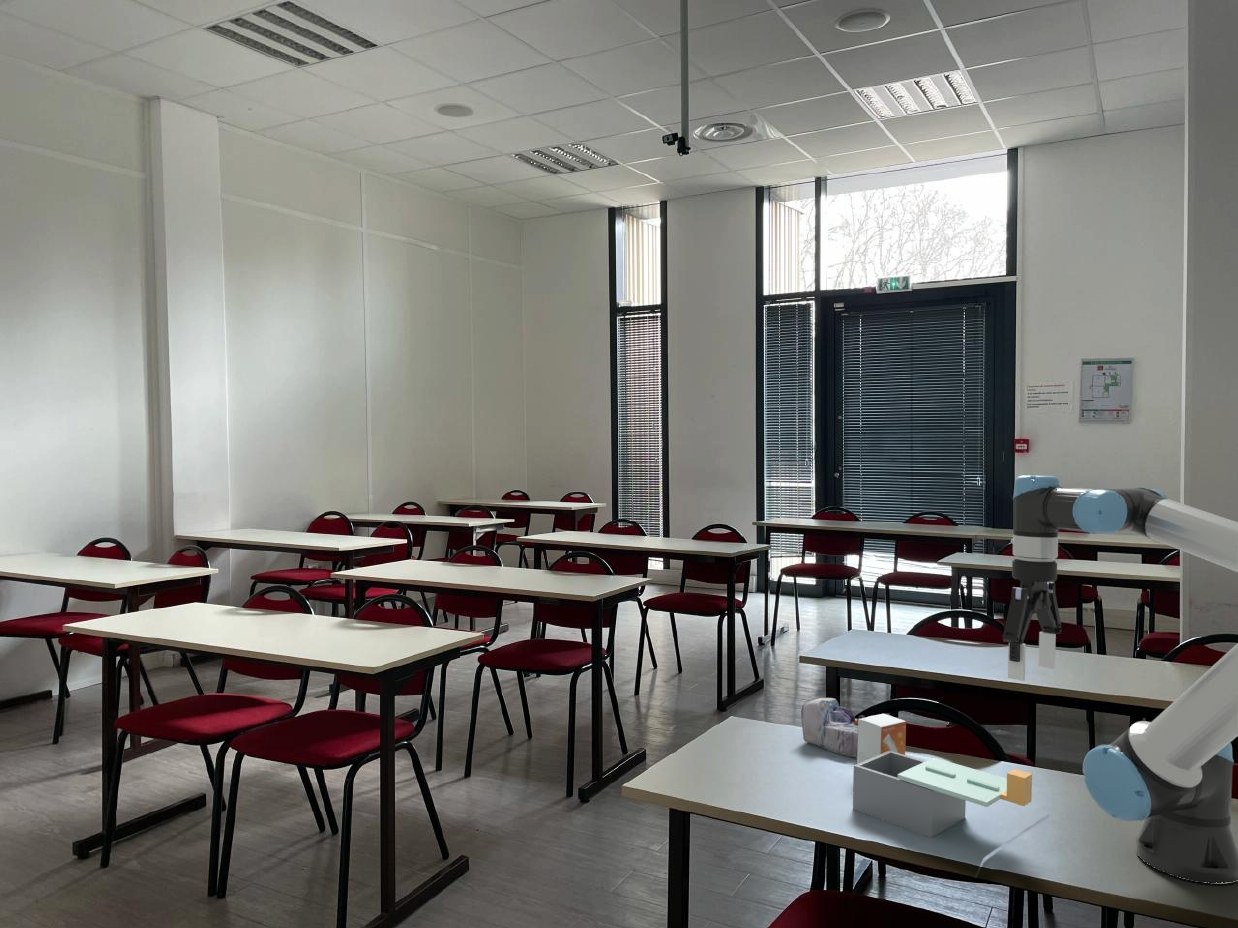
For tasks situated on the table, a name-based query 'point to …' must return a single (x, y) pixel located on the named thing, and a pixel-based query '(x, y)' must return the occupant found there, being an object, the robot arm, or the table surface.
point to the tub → (902, 796)
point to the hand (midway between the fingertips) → (1031, 673)
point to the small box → (880, 736)
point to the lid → (970, 782)
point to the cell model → (830, 726)
